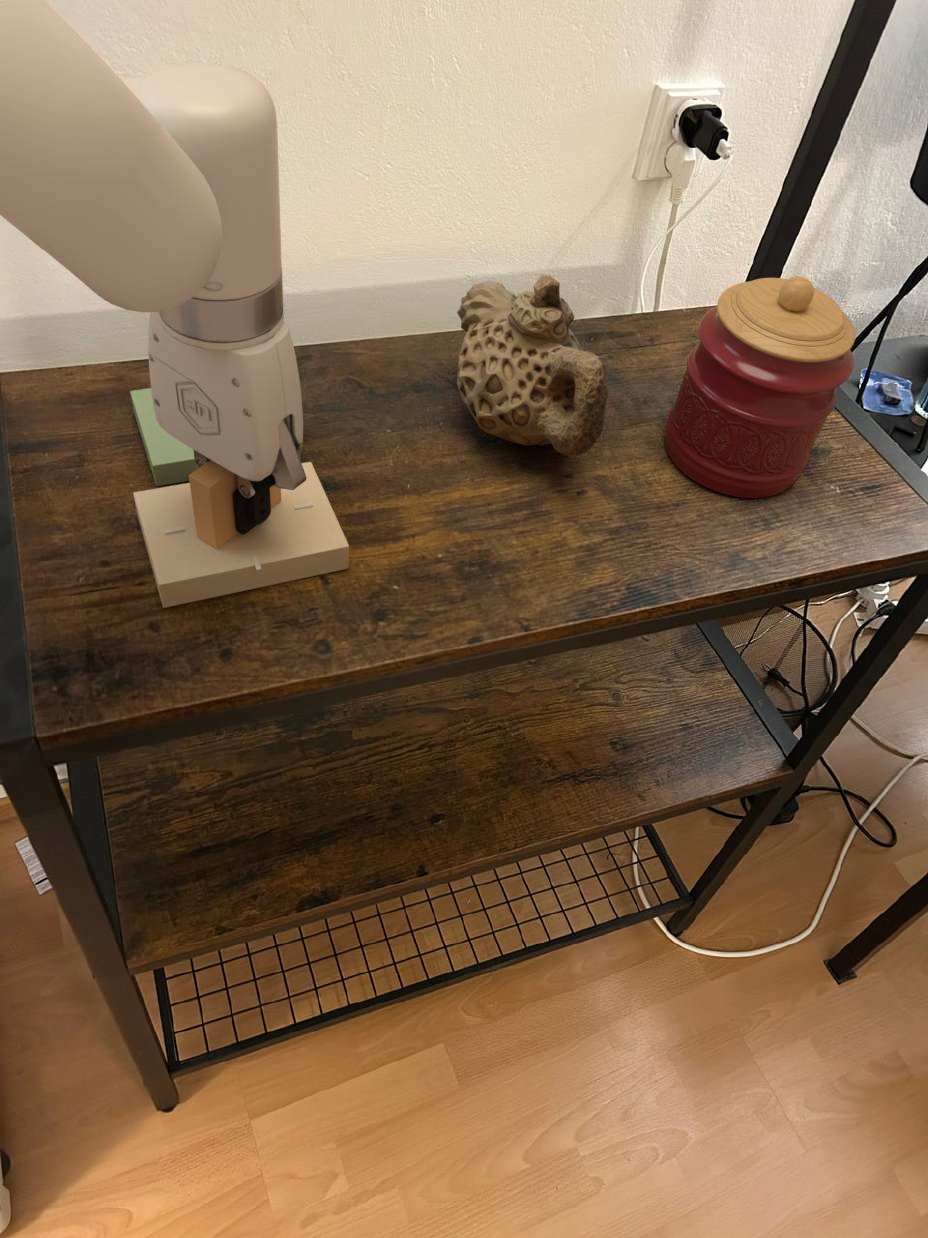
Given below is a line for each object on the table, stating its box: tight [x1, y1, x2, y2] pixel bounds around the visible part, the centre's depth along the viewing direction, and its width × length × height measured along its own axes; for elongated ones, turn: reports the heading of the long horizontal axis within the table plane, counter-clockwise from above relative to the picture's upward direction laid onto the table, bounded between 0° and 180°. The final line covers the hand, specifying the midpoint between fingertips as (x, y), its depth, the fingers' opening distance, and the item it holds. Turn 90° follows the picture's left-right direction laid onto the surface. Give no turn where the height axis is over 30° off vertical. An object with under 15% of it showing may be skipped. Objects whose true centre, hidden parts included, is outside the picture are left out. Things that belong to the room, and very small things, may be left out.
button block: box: [129, 387, 302, 487], centre depth 81 cm, size 12×10×4 cm
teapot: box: [456, 274, 609, 456], centre depth 82 cm, size 21×12×15 cm, turn 27°
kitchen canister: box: [664, 275, 856, 499], centre depth 83 cm, size 13×13×18 cm
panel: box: [132, 461, 350, 609], centre depth 74 cm, size 14×11×3 cm
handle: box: [188, 460, 281, 549], centre depth 71 cm, size 7×2×6 cm, turn 145°
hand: (239, 513), depth 73 cm, fingers closed on handle, 2 cm apart
